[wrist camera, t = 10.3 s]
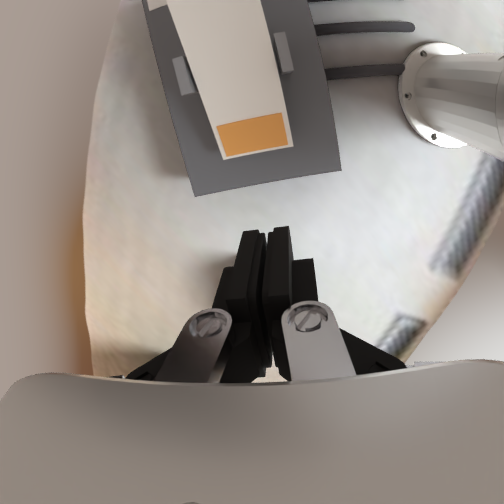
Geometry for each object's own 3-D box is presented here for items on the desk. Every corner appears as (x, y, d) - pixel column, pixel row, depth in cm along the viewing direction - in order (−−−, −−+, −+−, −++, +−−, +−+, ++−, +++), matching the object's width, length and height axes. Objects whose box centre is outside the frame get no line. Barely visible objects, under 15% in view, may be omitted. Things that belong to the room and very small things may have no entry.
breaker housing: (288, -30, 22) (293, -74, 12) (331, 156, 32) (353, 187, 23) (160, 1, 24) (115, -25, 15) (207, 178, 35) (180, 218, 25)
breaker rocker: (247, -42, 14) (247, -43, 13) (291, 139, 26) (293, 147, 25) (163, -19, 15) (158, -18, 14) (224, 152, 27) (223, 160, 26)
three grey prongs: (402, -8, 21) (406, -11, 20) (421, 74, 26) (425, 74, 25) (295, -5, 23) (296, -8, 22) (316, 81, 28) (318, 81, 27)
